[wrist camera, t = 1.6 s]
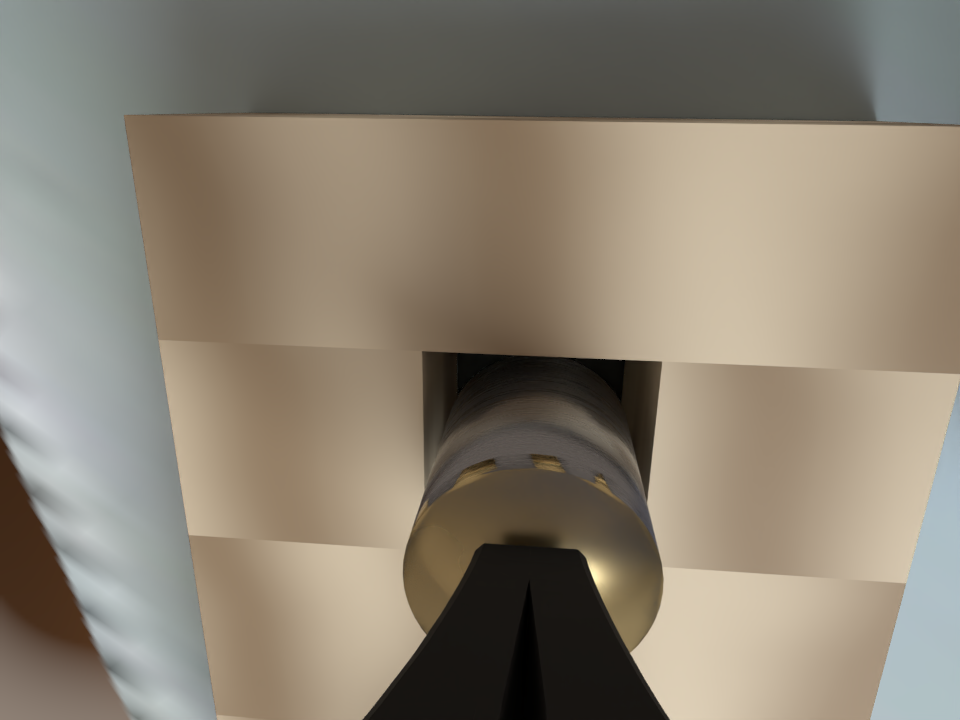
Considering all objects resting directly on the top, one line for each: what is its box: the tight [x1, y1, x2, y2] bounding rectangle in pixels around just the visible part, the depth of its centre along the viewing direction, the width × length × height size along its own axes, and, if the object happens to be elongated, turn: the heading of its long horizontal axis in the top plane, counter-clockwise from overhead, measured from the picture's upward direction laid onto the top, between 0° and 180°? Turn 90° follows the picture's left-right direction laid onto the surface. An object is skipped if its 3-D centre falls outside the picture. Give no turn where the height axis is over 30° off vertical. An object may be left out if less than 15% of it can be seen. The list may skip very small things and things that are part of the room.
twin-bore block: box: [124, 113, 960, 720], centre depth 17 cm, size 14×21×5 cm, turn 179°
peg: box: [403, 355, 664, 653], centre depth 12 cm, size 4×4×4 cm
